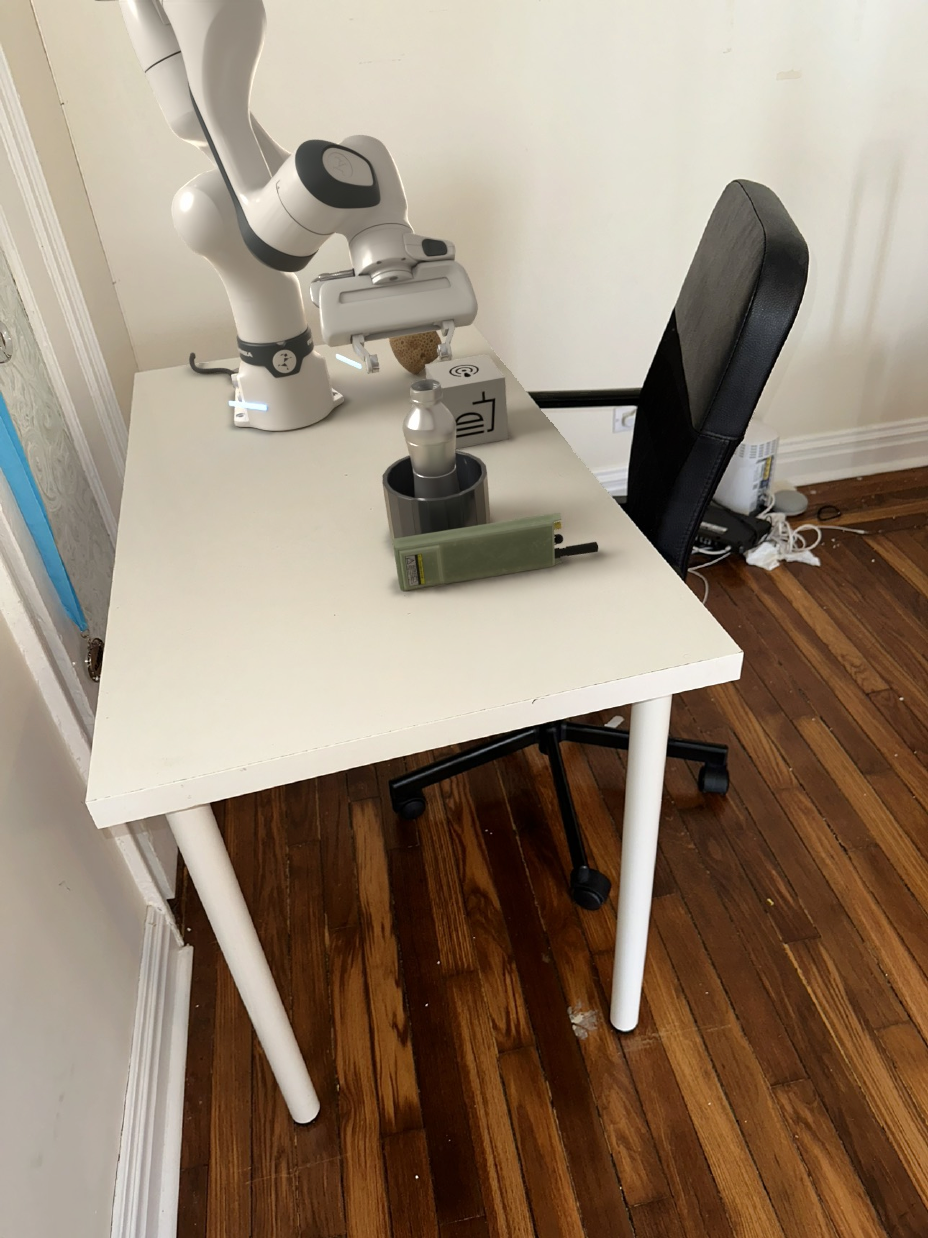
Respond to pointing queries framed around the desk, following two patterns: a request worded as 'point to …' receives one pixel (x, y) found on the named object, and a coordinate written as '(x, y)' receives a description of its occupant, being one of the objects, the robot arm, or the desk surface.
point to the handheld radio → (482, 551)
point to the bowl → (436, 499)
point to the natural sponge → (416, 350)
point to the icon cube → (473, 398)
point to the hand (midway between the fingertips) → (410, 365)
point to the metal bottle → (431, 441)
